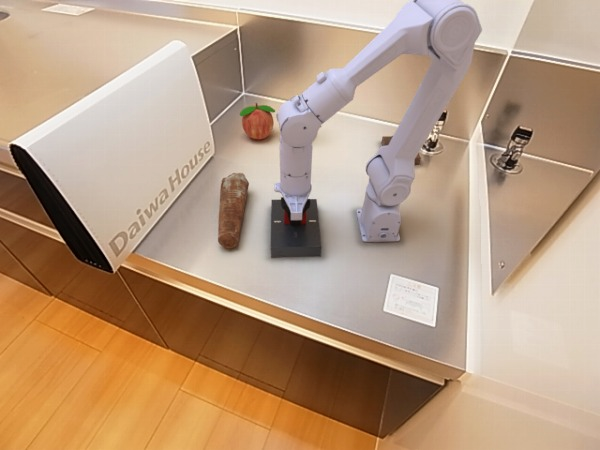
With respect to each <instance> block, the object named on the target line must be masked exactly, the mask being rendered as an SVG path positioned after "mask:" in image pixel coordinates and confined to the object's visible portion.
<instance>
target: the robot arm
mask: <svg viewBox="0 0 600 450" xmlns="http://www.w3.org/2000/svg"><path fill="white" fill-rule="evenodd" d="M482 32H483V28H482V24H481V22H480V18H479V16H478V13H477V11H476V9H475V8H474V7H473V6H472V5H471V4H468V3H465V2H463V1H462V0H408V2H406V3H404V4H403V5H402V6H401V8H400V9H399V11H398V13H397V14H396V16H395V17H394V18H393V19H392V21H391V22H390V23H388V24H387V26H385V28H383V30H381V31H380V32H379V33H378V34H376V36H375V37H374V38H373V39H372V40H371V41H370V42H369V43H368V44H367V45H366V46H364V48H362V49H361V50H360V51H359V52H358V53H357V54H356V55H355V56H354V57H352V59H351V60H350V61H349V62H348V63H347V64H345V66H344V67H342V68H337V67H336V68H334V67H333V68H330V69H328V70H327V71H326V72H324V71H321V72H319V74H317V75H316V78H315V79H316V81H314V82H313V83H312V84H311V85H310V86H309V87H307V88H306V89H305V90H304V91H303V92H302V93H300V94H296V95H294V96H295V97H294V98H293V99H292V100H290V99H289V100H286V101H285V102H283V103H282V104H281V105H280V106H279V108H278V111H277V112H276V114H275V118H276V121H277V124H278V128H279V135H280V136H279V147H278V149H279V179H280V182H275V183H274V192H275V193H279V194H281V197H280V199H281V206H282V208H283V209H284V210H285V211H286V213H287V216H288V219H289V222H290V224H291V225H300V224H301V221H302V219H303V216H304V213H305V212H306V210H307V209H309V207H310V199H311V198H309V197H310V196H311V193H312V188H313V187H312V167H313V166H312V165H313V164H312V163H313V148H314V147H313V142H314V141H315V140H316V138H317V136H318V133H319V129H320V128H322V125H324V123H326V122H327V121H328V120H330V119H331V118H333V116H334V115H336V114H337V113H338V112H339V111H341V110H342V109H343V108H345V107H346V106H347V105H348V104H349V103H351V102H352V101H354V98H355V93H356V89H357V87H359V86H360V85H361V84H362V83H364V82H365V81H367V80H368V79H370V78H371V77H372V76H374V75H375V74H377V73H378V72H380V71H381V70H382V69H384V68H385V67H386V66H388V65H389V64H391V63H392V62H393V61H395V60H396V59H397V58H398V57H400V56H402V55H414V56H428V57H429V60H430V65H429V67H428V69H427V70H426V72H425V74H424V77H423V78H422V80H421V82H420V84H419V86H418V88H417V89H416V91H415V94H414V95H413V98H412V99H411V101H410V103H409V105H408V107H407V109H406V111H405V113H404V115H403V116H402V118H401V120H400V122H399V124H398V126H397V128H396V129H395V131H394V133H393V135H392V136H393V137H392V139H391V141H390V143H389V145H387V146H382V145H381V146H380V147H378V149H377V151H376V153H375V154H374V155H373V156H372V157H370V158H369V159H368V160H367V162H366V164H365V173H366V175H367V176H368V183H367V185H366V189H365V193H364V199H363V203H362V204H363V205H362V208H361V209H360V208H357V209H356V211H355V213H356V218H357V222H358V227H359V232H360V236H361V241H362V242H364V243H374V242H375V243H378V242H379V243H380V242H383V243H384V242H386V243H387V242H400V241H401V237H400V234H399V230H400V227H401V225H402V216H401V212H400V205H401V203H403V202H405V200H407V199H408V197H409V196H410V194H411V189H412V184H413V183H414V180H415V178H416V169H415V168H416V165H415V164H414V160H415V158H416V156H417V155H418V153H419V154H420V151H421V149H422V148H423V146H424V145H425V143H426V141H427V139H428V138H429V137H430V134H431V133H432V131H433V130H434V128H435V126H436V125H437V123H438V121H439V120H440V118H441V117H442V115H443V113H444V111H445V110H446V108H447V106H448V105H449V103H450V101H451V100H452V98H453V96H454V95H455V93H456V92H457V90H458V88H459V86H460V85H461V83H462V81H463V80H464V78H465V76H466V75H467V73H468V72H469V70H470V68H471V65H472V62H473V56H474V50H475V45H476V42H477V41H478V39H479V37H480V35H481V33H482ZM298 95H300V96H298Z"/></svg>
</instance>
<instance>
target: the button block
mask: <svg viewBox="0 0 600 450" xmlns="http://www.w3.org/2000/svg"><path fill="white" fill-rule="evenodd" d="M392 137H393V135H390V136H385V135H383V136H381V143H380V144H381V146H387V145H389V143H390V141H391V139H392ZM421 159H422V157H421V155H420V152H419V153H418V155H417V156H416V158H415V160H414V164H415V166H417V165H420V162H421Z"/></svg>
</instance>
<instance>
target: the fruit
mask: <svg viewBox="0 0 600 450" xmlns="http://www.w3.org/2000/svg"><path fill="white" fill-rule="evenodd" d="M275 112H276V109H274V108H273V107H271V106H270V105H267V104H266V105H265V104H258V102H255V104H254V105H251V106H250V105H249V106H247V107H245V108H243V109H241V111H240V112H239V116H240V117H242V118H241V125H242V129H243V131H244V133H245V134H246V135H247V136H248V137H249V138H251V139H253V140H264V139H265V138H267V137H269V136H270V135H271V133H272V132H273V129H274V117H273V115H272V113H275Z"/></svg>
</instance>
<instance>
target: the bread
mask: <svg viewBox="0 0 600 450" xmlns="http://www.w3.org/2000/svg"><path fill="white" fill-rule="evenodd" d="M245 175H246V174H244V173H243V172H233V173H231V174H228V176H227V177H223V178H222V179H221V183H220V188H219V189H220V190H219V191H220V192H219V205H218V206H219V208H218V228H217V229H218V231H217V233H218V234H217V242H218V244H219V245H220V246H221V247H222V248H224V249H232V248H235V247H237V245H239V239H240V233H241V228H242V223H243V218H244V212H245V208H246V207H245V205H246V201H247V197H248V192H249V186H250V183H249V181H248V179H247V178H246V176H245Z"/></svg>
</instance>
